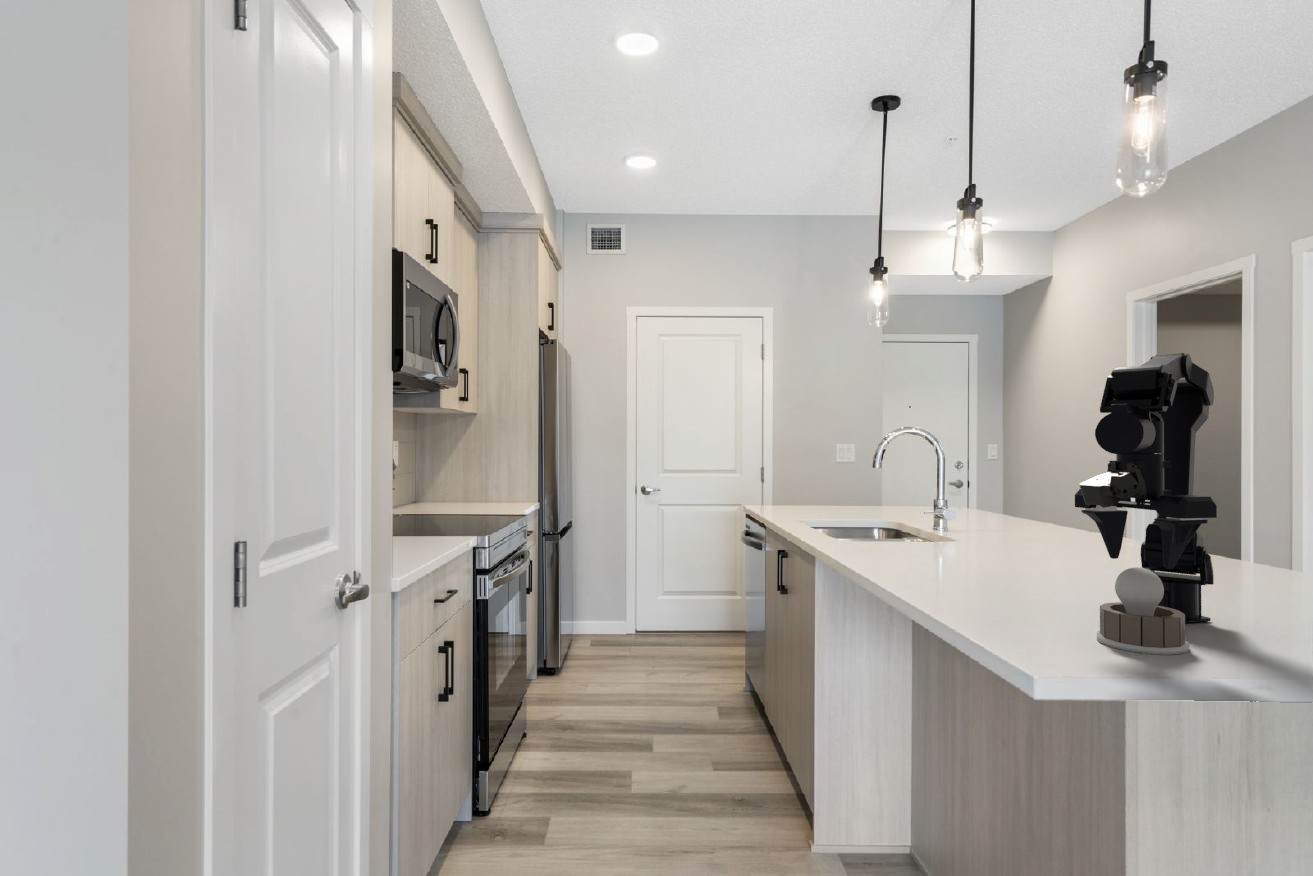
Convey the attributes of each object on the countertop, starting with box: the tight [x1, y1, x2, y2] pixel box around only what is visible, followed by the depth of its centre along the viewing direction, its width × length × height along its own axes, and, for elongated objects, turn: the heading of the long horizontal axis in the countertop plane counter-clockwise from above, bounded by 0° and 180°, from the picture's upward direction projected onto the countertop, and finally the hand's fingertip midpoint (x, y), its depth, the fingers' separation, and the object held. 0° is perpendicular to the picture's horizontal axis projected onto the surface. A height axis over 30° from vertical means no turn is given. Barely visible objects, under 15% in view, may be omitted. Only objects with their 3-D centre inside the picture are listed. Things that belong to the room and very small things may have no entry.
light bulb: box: [1114, 566, 1164, 616], centre depth 107 cm, size 6×6×10 cm
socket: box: [1096, 601, 1190, 656], centre depth 106 cm, size 11×11×5 cm
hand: (1140, 563), depth 106 cm, fingers open, 9 cm apart
